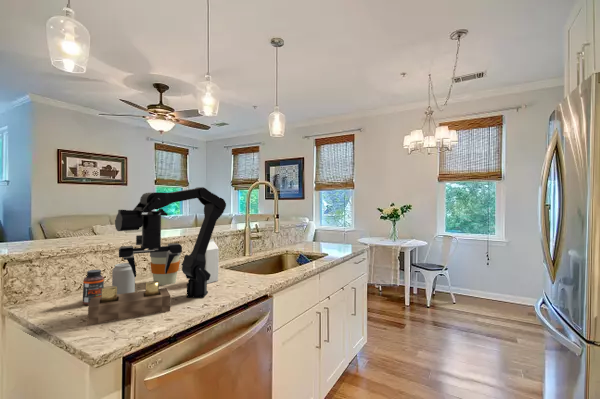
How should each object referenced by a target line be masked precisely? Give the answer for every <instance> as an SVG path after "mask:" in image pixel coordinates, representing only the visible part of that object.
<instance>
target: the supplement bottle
mask: <svg viewBox="0 0 600 399" xmlns="http://www.w3.org/2000/svg"><path fill="white" fill-rule="evenodd" d="M104 280H105V278H104V276H103V275H102V270H101V269H91V270H88V271H86V277H84V279H83V283H82V305H85V306H89V303H90V300H91V298H94V297H102V288H104V287H105V281H104Z"/></svg>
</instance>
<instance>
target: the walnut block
mask: <svg viewBox="0 0 600 399" xmlns="http://www.w3.org/2000/svg"><path fill="white" fill-rule="evenodd" d="M170 311H171V294H170V292H169V290H168V289H167V287H162V288H159V295H156V296H149V297H145V290H140V291H135V292H132V293H124V294H117V301H114V302H107V303H102V297H94V298H91V300H90V303H89V305H87V326H91V325H97V324H103V323H107V322H113V321H119V320H125V319H126V320H127V319H131V318H136V317H141V316H147V315H149V316H150V315H152V314H153V315H154V314H158V313H166V312H170Z"/></svg>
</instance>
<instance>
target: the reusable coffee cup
mask: <svg viewBox="0 0 600 399" xmlns="http://www.w3.org/2000/svg"><path fill="white" fill-rule="evenodd" d="M155 250H158V249H155ZM167 252H168V251H164V252H151V253H149V257H150V263H149V264H150V272H151V274H152V279H153V280H152V281H159V286H167V285H172V284H175V283H176V282H177V276H178V272H179V270H180V262H181V260H180V258H181V257H180V256H181V254H182V253H177V254H178V255H177V256H175V257H174V258H173V260H172V262H171V264H170V266H169V269H168V271H167V274H165V265H166V257H167Z"/></svg>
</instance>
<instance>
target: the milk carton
mask: <svg viewBox="0 0 600 399" xmlns="http://www.w3.org/2000/svg"><path fill="white" fill-rule="evenodd" d="M219 253H220V248H219V247H218V245H217V243H216V242H215V238H210V241H209V244H208V247H207V250H206V253H205V260H206V265H205V270H206V271H207V272H208V273H210V279H209V280H207V285H208V284H212V283H215V282H217V281H219V262H220V260H219V258H220V257H219Z"/></svg>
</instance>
